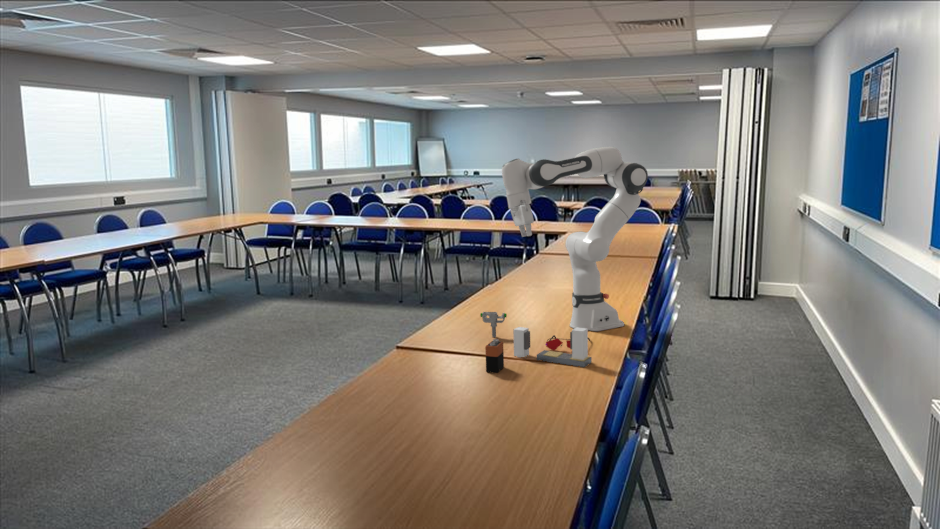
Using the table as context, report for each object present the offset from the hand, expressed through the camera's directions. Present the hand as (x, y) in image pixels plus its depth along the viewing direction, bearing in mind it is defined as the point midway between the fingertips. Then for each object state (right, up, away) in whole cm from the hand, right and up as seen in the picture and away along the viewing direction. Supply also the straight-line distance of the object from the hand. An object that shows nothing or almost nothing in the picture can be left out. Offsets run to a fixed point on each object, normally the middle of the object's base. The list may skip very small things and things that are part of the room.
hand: (527, 236), depth 255 cm
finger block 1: (-4, -44, -19) cm, 48 cm away
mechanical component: (-13, -40, +7) cm, 43 cm away
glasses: (+15, -42, -8) cm, 45 cm away
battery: (-14, -47, -33) cm, 59 cm away
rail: (+11, -45, -27) cm, 53 cm away
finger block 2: (+16, -43, -30) cm, 55 cm away
